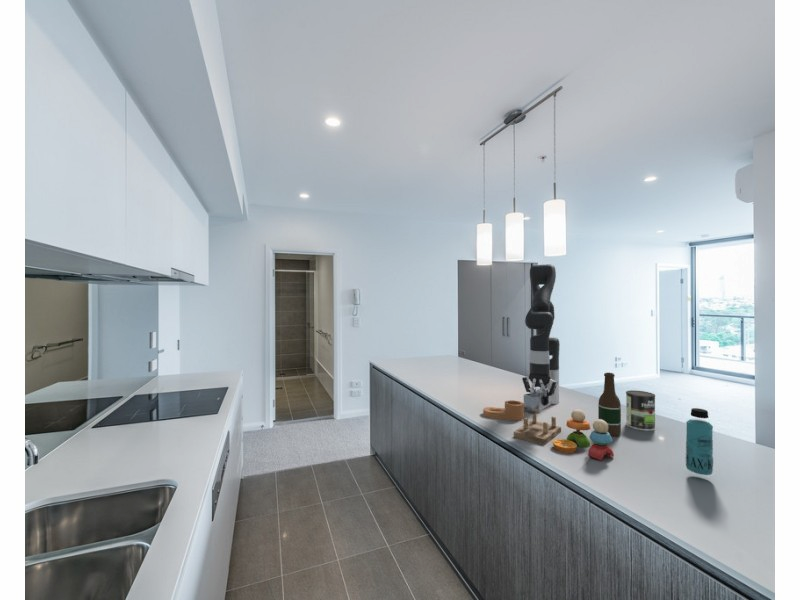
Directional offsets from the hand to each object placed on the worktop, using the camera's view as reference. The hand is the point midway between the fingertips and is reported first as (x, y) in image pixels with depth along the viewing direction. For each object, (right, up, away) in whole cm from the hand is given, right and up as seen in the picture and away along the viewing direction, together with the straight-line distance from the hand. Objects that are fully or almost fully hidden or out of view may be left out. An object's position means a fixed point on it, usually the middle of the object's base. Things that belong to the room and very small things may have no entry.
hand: (539, 404), depth 146 cm
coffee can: (+45, -12, +7) cm, 47 cm away
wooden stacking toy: (+9, -12, -17) cm, 23 cm away
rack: (-1, -12, -2) cm, 12 cm away
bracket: (-9, -12, +21) cm, 26 cm away
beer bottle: (+28, -12, -1) cm, 30 cm away
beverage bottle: (+35, -12, -36) cm, 51 cm away
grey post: (-1, -1, -2) cm, 2 cm away
